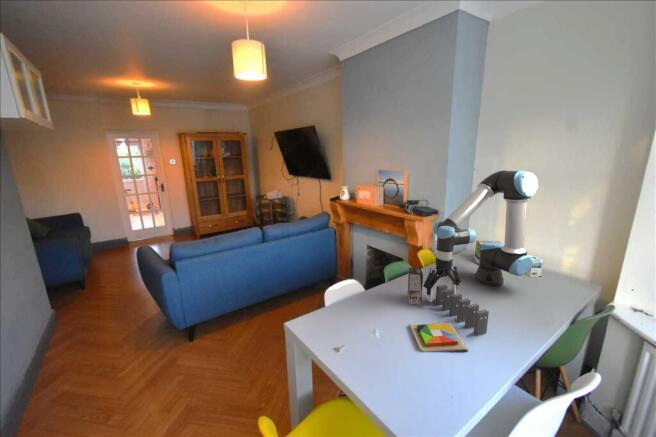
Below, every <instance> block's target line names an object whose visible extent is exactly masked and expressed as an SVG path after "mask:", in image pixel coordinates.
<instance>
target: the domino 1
mask: <svg viewBox="0 0 656 437" xmlns="http://www.w3.org/2000/svg"><path fill="white" fill-rule="evenodd" d="M435 287H436V288H435V289H436V291H435V303H434V304H435V305H436V306H437V307H439V306H441V307H442V302H443V290H448V287H449V286H448V285H447V284H441V285H436V286H435Z"/></svg>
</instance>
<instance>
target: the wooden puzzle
mask: <svg viewBox="0 0 656 437" xmlns="http://www.w3.org/2000/svg"><path fill="white" fill-rule="evenodd" d="M408 326H409V329H410V332H411V333H412V335H413V337H414V340H415V342H416V344H417V347H418V349H419V350H420V352H422V353H439V352H440V353H442V352H453V351H466V352H468V351H469V348H468V347H467V346H466V344H465V343H464V341H463V339H461V336H459V334H458V332H457V330H456V329H455V328H454V326H453V325H452V323H450V322H436V323H423V324H412V323H409V324H408Z"/></svg>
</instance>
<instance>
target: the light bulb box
mask: <svg viewBox="0 0 656 437" xmlns="http://www.w3.org/2000/svg"><path fill="white" fill-rule="evenodd" d="M527 256H529V257H531V259H532V265H531V268H530V269H529V271H528V272H527V273H525V274H524V275H526V274H527V275H526V276H528V277H530V278H540V277H539V276H541V277H542V271H543V264H544V259H541V258H539V257H537V256H535V255H533V254H527Z"/></svg>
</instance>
